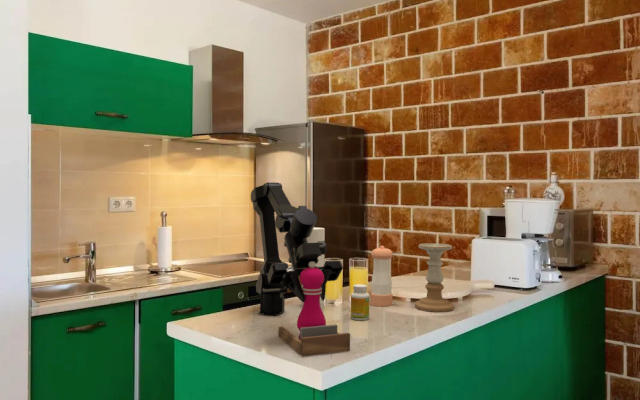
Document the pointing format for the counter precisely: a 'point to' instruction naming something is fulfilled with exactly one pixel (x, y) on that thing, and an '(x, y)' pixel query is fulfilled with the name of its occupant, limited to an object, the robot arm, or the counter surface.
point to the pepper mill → (311, 298)
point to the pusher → (318, 330)
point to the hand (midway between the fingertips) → (313, 300)
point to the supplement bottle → (360, 303)
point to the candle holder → (434, 280)
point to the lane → (316, 342)
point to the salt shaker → (381, 278)
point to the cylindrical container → (316, 236)
